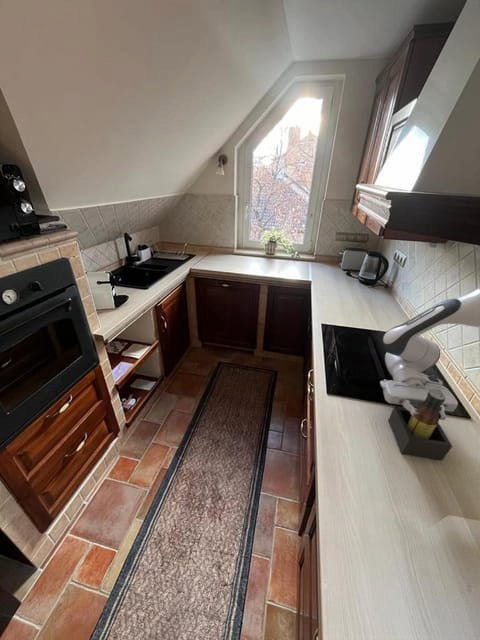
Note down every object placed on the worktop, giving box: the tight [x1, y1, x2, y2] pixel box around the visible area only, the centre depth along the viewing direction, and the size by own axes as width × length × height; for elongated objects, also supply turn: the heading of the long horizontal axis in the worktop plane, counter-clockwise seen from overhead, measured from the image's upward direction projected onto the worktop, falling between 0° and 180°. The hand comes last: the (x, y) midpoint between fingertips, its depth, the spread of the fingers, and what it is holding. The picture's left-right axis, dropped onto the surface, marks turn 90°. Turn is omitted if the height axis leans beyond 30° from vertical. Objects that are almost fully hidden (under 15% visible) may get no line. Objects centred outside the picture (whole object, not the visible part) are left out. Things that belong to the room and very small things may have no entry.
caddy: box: [387, 406, 453, 461], centre depth 80 cm, size 11×12×7 cm
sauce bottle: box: [407, 390, 446, 439], centre depth 77 cm, size 6×6×20 cm
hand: (429, 416), depth 75 cm, fingers closed on sauce bottle, 6 cm apart
